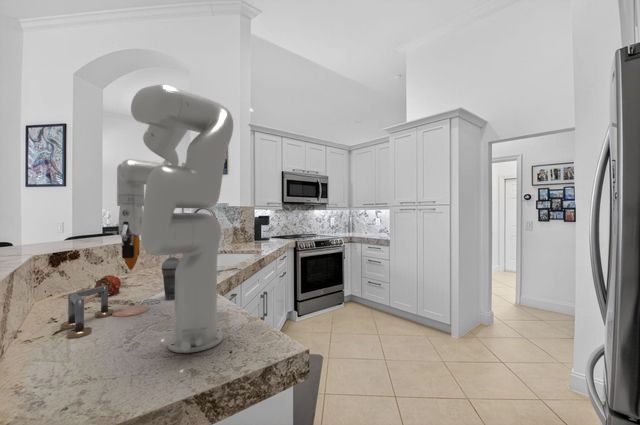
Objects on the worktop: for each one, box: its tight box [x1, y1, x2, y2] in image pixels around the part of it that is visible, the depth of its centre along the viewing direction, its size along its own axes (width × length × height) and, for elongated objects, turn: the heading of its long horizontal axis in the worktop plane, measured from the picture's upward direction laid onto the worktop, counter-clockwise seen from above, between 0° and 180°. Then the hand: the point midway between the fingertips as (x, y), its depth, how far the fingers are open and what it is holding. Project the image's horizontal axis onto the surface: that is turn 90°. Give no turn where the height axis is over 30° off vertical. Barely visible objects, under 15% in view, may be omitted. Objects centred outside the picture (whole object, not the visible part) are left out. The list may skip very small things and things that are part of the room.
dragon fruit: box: [93, 274, 122, 295], centre depth 116 cm, size 8×8×12 cm
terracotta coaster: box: [111, 304, 150, 318], centre depth 94 cm, size 10×10×1 cm
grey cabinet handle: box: [60, 285, 115, 339], centre depth 83 cm, size 21×10×9 cm, turn 18°
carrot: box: [123, 235, 141, 271], centre depth 95 cm, size 5×5×15 cm
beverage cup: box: [160, 254, 180, 301], centre depth 110 cm, size 7×7×20 cm
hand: (131, 256), depth 95 cm, fingers closed on carrot, 4 cm apart
